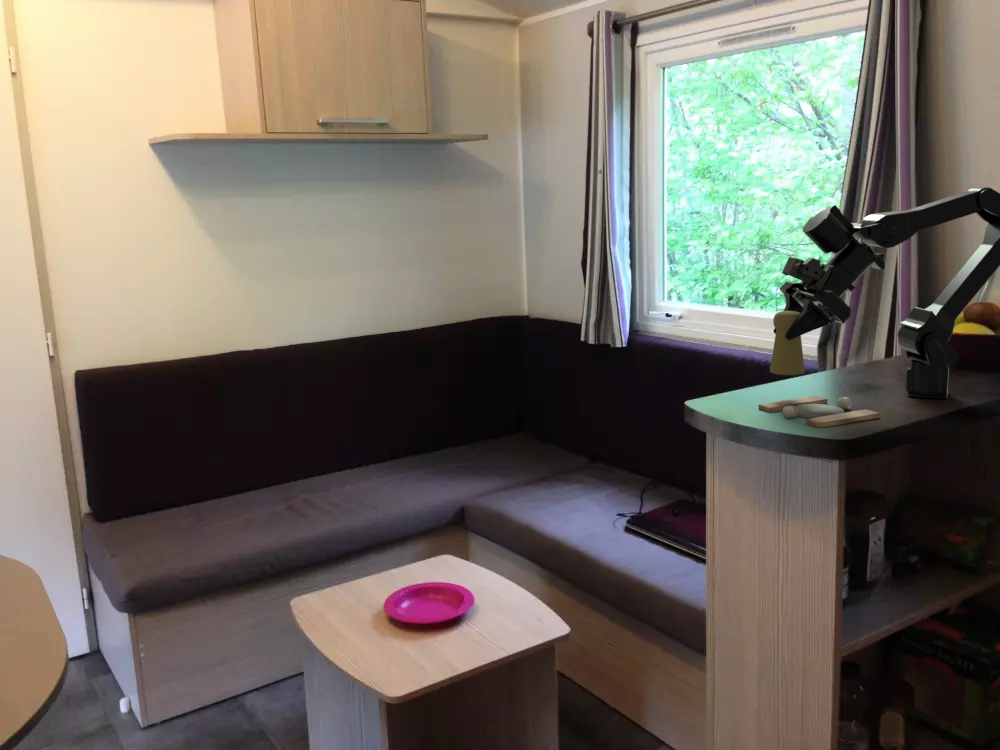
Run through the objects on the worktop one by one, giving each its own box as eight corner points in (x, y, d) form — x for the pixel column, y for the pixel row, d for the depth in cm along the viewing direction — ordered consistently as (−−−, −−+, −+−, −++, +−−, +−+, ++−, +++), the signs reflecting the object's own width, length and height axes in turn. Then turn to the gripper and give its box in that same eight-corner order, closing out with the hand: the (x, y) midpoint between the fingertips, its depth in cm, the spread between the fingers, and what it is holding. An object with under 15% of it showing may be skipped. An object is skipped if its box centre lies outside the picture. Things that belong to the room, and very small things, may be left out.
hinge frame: (816, 399, 166) (816, 389, 165) (880, 417, 152) (880, 405, 152) (757, 408, 160) (757, 397, 160) (818, 428, 147) (818, 416, 147)
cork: (783, 376, 160) (784, 314, 158) (763, 370, 165) (764, 310, 163) (811, 372, 162) (813, 311, 159) (790, 366, 167) (792, 308, 165)
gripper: (791, 237, 168) (732, 299, 170) (835, 243, 150) (769, 313, 151) (831, 277, 170) (772, 338, 172) (879, 288, 152) (813, 356, 154)
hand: (780, 335), depth 162 cm, fingers closed on cork, 5 cm apart
